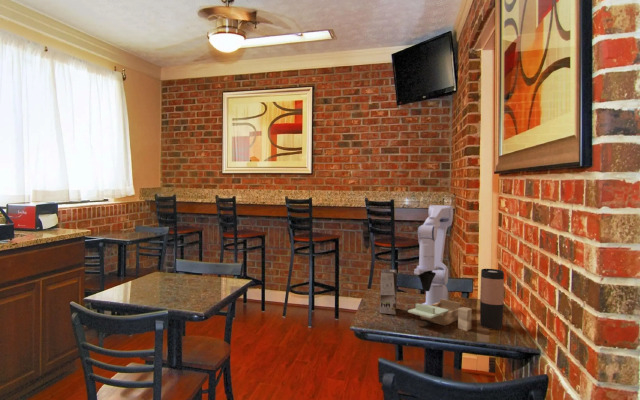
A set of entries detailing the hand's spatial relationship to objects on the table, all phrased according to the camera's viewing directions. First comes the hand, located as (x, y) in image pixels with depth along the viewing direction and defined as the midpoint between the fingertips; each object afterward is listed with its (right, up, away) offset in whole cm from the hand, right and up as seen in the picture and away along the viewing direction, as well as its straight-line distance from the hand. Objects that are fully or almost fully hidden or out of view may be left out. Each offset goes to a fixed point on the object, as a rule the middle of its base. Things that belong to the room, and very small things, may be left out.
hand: (426, 290), depth 147 cm
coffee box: (-14, -9, +4) cm, 17 cm away
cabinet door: (-2, -5, -11) cm, 12 cm away
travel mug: (+20, -10, -12) cm, 25 cm away
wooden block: (+9, -10, -15) cm, 20 cm away
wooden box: (+5, -10, -4) cm, 11 cm away
